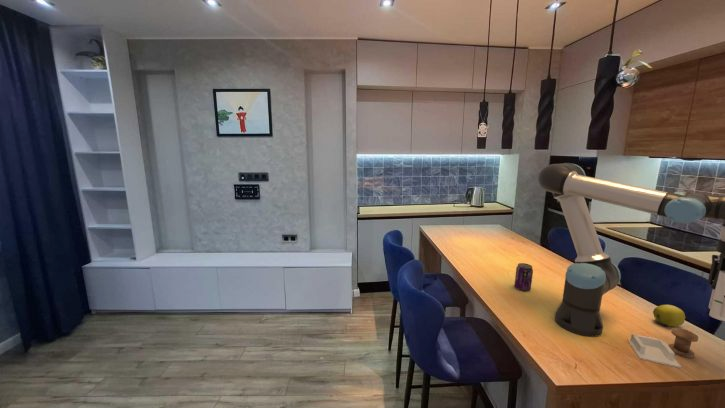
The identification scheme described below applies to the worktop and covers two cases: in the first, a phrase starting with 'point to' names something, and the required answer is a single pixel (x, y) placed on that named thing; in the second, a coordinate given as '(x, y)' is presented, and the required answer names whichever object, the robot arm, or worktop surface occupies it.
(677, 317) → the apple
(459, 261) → the worktop surface
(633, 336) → the notch board
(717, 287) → the tube
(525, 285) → the beverage can
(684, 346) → the wooden cabinet knob
